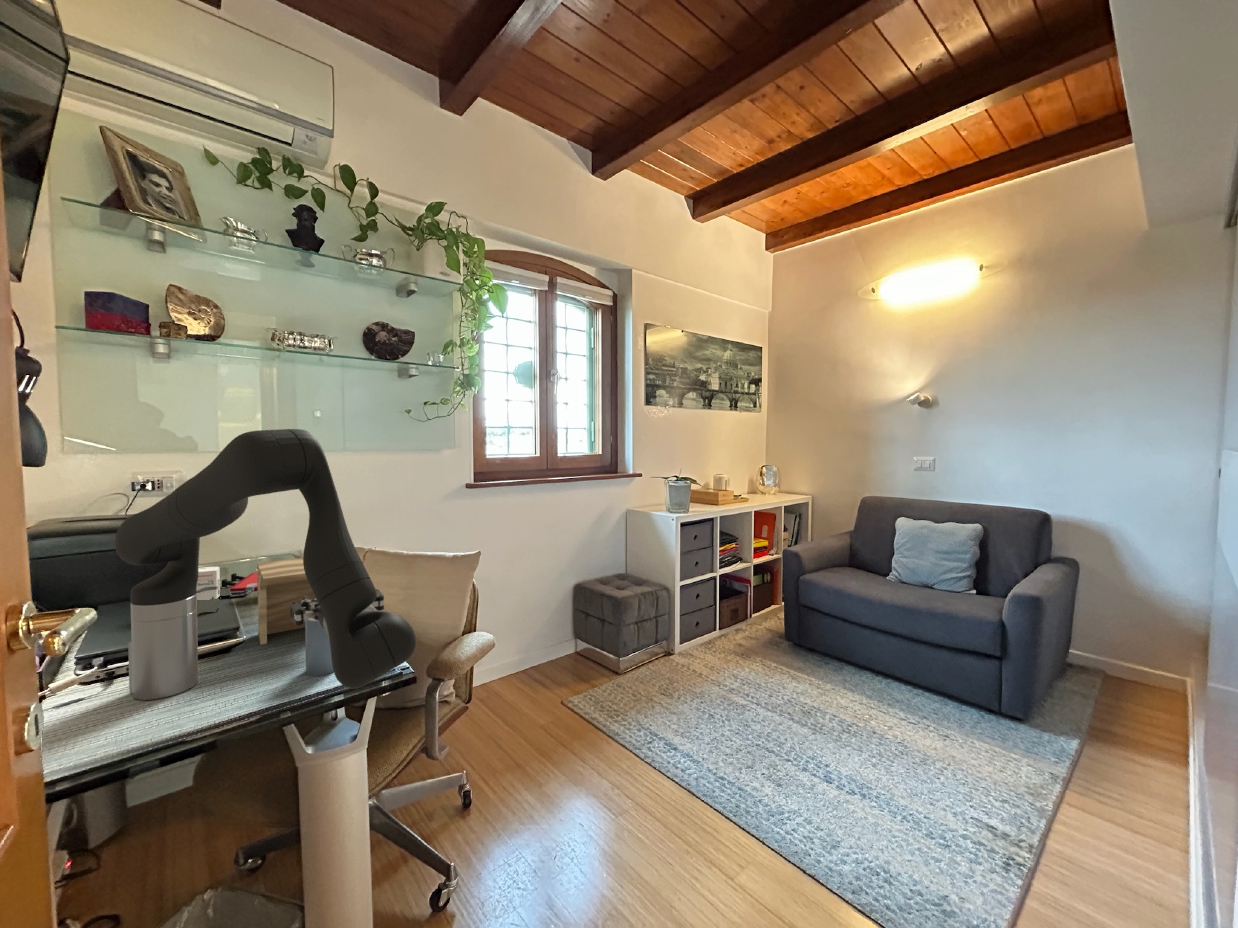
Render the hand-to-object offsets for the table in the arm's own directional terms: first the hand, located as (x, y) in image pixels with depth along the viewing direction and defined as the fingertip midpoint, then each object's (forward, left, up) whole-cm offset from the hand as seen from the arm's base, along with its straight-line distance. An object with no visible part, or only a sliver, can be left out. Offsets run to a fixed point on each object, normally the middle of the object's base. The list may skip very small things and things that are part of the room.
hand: (331, 596), depth 96 cm
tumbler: (-8, +6, -18) cm, 20 cm away
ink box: (-68, +29, -18) cm, 76 cm away
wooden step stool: (-25, +20, -18) cm, 37 cm away
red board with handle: (-79, +54, -18) cm, 97 cm away
